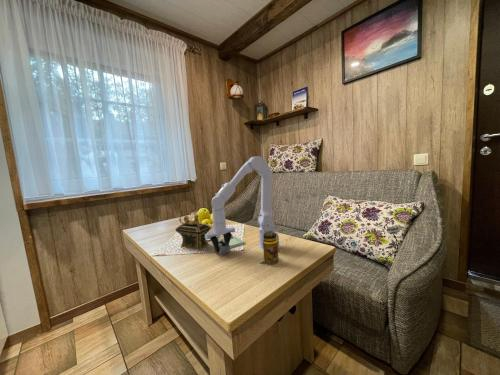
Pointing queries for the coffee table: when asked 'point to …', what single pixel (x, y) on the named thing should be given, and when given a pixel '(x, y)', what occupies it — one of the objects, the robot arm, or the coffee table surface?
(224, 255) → the tan rectangular block
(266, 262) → the condiment
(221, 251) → the grey open box
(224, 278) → the coffee table surface
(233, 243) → the tray
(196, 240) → the decorative box
